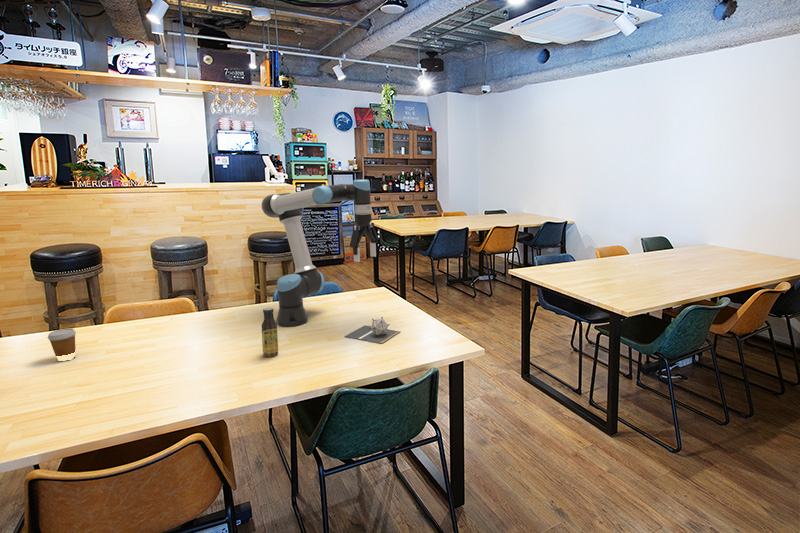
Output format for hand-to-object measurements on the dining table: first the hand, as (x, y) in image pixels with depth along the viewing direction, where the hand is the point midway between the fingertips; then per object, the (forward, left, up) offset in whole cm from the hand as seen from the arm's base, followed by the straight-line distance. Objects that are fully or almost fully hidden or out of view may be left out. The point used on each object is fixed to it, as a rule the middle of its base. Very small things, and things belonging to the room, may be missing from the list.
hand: (365, 259), depth 214 cm
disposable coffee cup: (-93, -89, -33) cm, 133 cm away
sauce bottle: (-17, -48, -33) cm, 60 cm away
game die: (+13, -10, -32) cm, 36 cm away
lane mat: (+9, -10, -33) cm, 35 cm away
